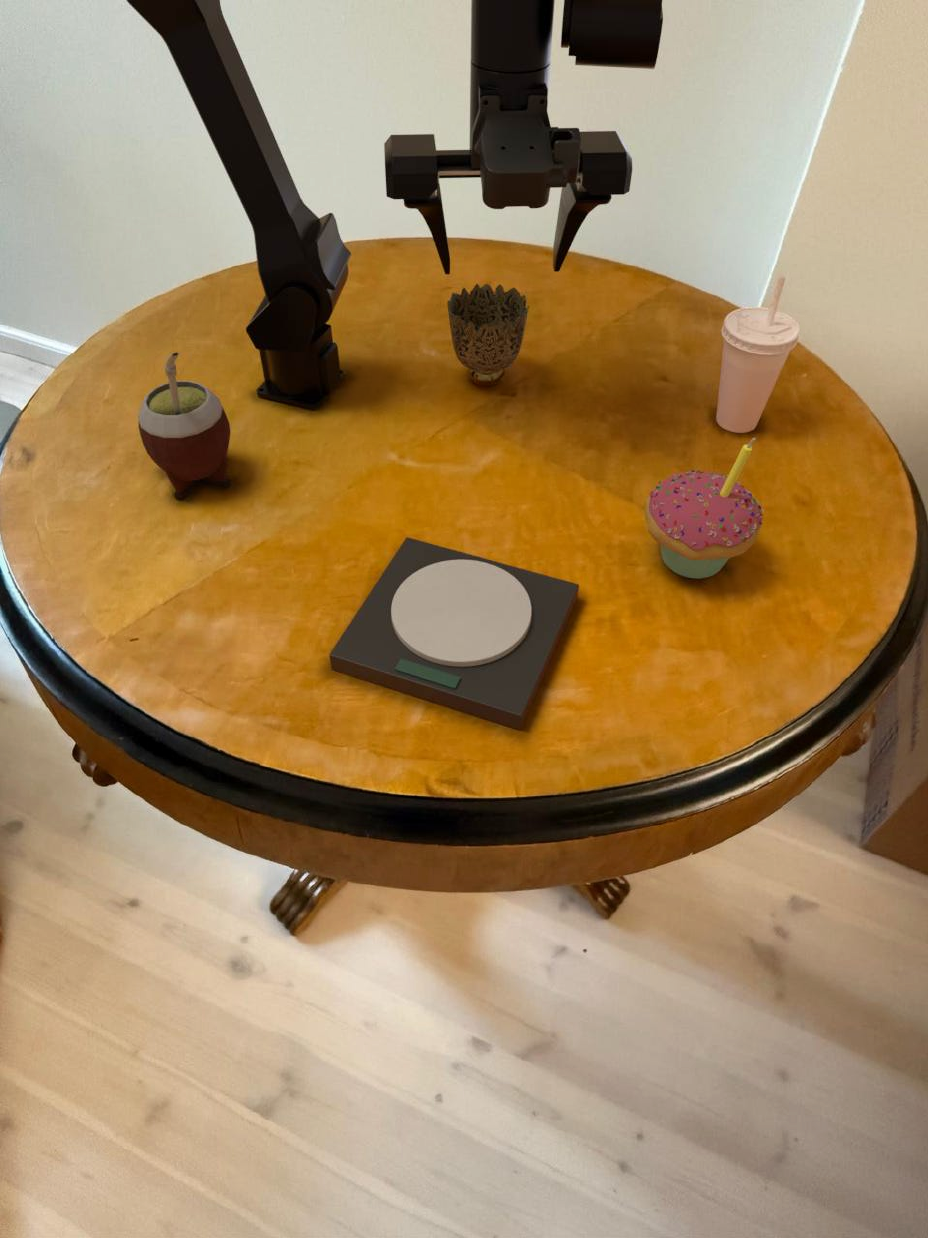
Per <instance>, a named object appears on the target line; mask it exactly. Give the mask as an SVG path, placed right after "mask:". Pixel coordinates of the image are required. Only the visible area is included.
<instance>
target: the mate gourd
mask: <svg viewBox="0 0 928 1238" xmlns="http://www.w3.org/2000/svg"><path fill="white" fill-rule="evenodd" d="M179 355H180V353H179V352H178V351H175V352H173V353H171V354H170V355H168V356H167V358H166V362H165V363H164V369H165V376H166V377H167V378H168V379H167V380H168V382H166V383H163V384H161V385H158V386H157V387H154V388H153V389H152V390H151V391H149V392H148V393H147V394H146V395H145V396H144V398H143V400H142V403H141V406H140V408H139V410H138V414H137V419H138V430H139V431H138V432H139V435H140V439H141V442H142V444H143V447H144V449H145V451H146V454H148V456H149V458H150V459H151V461H153V462H154V464H155V465H156V466H157V467H158V468H159V469H161V470H162V471H163V472H165V474H166V477H167V478H168V480H169V481H170V483H171V485H172V486H173V487H174V488H173V489H175V492H174V493H173V497H174V498H175V500H177V501H184V500H185V498H187V497H188V495H189V494H191V492H192V491H194V490H195V488H196V487H197V486H198V485H199V484H206V485H210V486H214V487H217V488H220V489H221V488H222V489H226V490H227V489H229V488H230V487H231V486H232V480H231V479H229V478H228V477H227V472H228V452H229V447H230V439H231V425H230V424H231V423H230V421H229V418H228V416H227V413H226V411H225V409H224V407H223V404H222V402H221V400H220V398H219V396H218V395H216V394H215V393H214V392H213V391H211V390H210V389H209V388H207V387H206V386H204V385H203V384H202V383H199V382H195V381H190V380H177V378H176V376H177V373H178V372H177V364H176V363H175V362H176V360H177V358H178V356H179Z"/></svg>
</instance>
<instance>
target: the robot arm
mask: <svg viewBox="0 0 928 1238" xmlns="http://www.w3.org/2000/svg"><path fill="white" fill-rule="evenodd" d="M555 1H556V0H471V5H470V6H471V7H470V8H471V9H470V11H471V12H470V14H471V15H470V20H471V21H470V73H469V74H470V75H469V77H470V81H469V82H470V84H469V149H437V146H436V138H435V133H426V134H425V133H424V134H423V133H421V134H420V133H419V134H418V133H417V134H414V133H413V134H390V135H389V137H388V138H387V139H386V141H385V142H384V143H383V147H384V149H383V150H384V151H383V152H384V172H385V173H384V175H385V176H384V177H385V192H386V194H385V195H386V197H387V198H388V199H389V198H390V199H391V200H403V205H404V207H405V208H407V209H411V210H412V209H413V210H414V209H415V210H417V211H418V212H419V213H420V214H421V216H422V217H423V220H424V221H425V223H426V225H427V227H428V229H429V232H430V234H431V236H432V239H433V242H434V245H435V249H436V252H437V254H438V257H439V259H440V263H441V266H442V269H443V272H444V274H445V275H450V274H451V256H450V255H451V254H450V249H449V240H448V234H447V233H448V232H447V226H446V219H445V213H444V205H443V199H442V192H441V185H440V179H463V178H464V179H469V178H470V179H471V178H472V179H473V178H475V179H477V178H480V183H481V197H482V202H483V204H485V206H486V207H488V208H489V209H492V210H504V209H505V208H510V207H512V208H513V207H514V208H515V207H517V208H518V207H528V208H530V209H540V208H544V207H545V206H546V205H547V204H548V203H549V198H550V193H551V189H552V188H553V189H554V188H555V189H556V188H558V189H559V188H561V191H560V198H559V207H558V212H557V219H556V225H555V232H554V239H553V246H552V268H553V271H554V272H556V273H558V272H560V270H561V268H562V266H563V264H564V262H565V259H566V258H567V255H568V253H569V251H570V249H571V247H572V244H573V242H574V240H575V238H576V236H577V234H578V232H579V230H580V228H581V226H582V225H583V223H584V221H585V220H586V218H587V216H588V215H589V214H590V213H591V212H593V210H595V209H596V208H597V207H598V206H601V205H608V204H610V202H611V200H612V198H613V196H615V195H616V196H621V195H626V194H627V193H630V191H631V190H630V189H631V185H632V184H631V183H632V175H633V158H632V156H631V154H630V152H629V150H628V148H627V145H626V144H625V142H624V140H623V139H622V137H621V136H620V135H619V133H618V132H617V131H616V130H597V131H595V130H594V131H592V130H591V131H590V130H589V131H587V130H586V131H580V128H579V127H558V126H552V125H551V122H550V117H549V113H548V106H549V103H548V102H549V87H550V73H551V71H550V70H551V60H552V59H551V56H552V43H553V29H554V15H555ZM126 2H127V3H128V4H129V5H130V6H131V7H132V8H133V10H135V12H136V13H137V14H138V15H140V16H141V17H142V19H143V20H144V21H145V22H146V23H147V24H148V25H149V26H150V27H151V28H153V30H154V31H155V32H156V33H157V34H158V35H159V36H160V37H161V38H162V40H163V42H164V43H165V45H166V47H167V49H168V51H169V53H170V55H171V57H172V59H173V62H174V63H175V66H176V69H177V70H178V73H179V74H180V76H181V78H182V80H183V83H184V85H185V88H186V89H187V92H188V94H189V95H190V98H191V100H192V102H193V105H194V106H195V108H196V111H197V112H198V115H199V116H200V119H201V121H202V123H203V125H204V127H205V129H206V132H207V134H208V136H209V138H210V139H211V140H210V141H211V142H212V144H213V146H214V148H215V150H216V153H217V155H218V157H219V159H220V161H221V163H222V165H223V167H224V170H225V172H226V174H227V176H228V178H229V180H230V182H231V184H232V188H233V189H234V191H235V194H236V195H237V197H238V199H239V201H240V204H241V205H242V208H243V210H244V212H245V215H246V217H247V219H248V220H249V223H250V225H251V227H252V231H253V236H254V245H255V254H256V262H257V263H256V264H257V272H258V276H259V279H260V282H261V285H262V289H263V293H264V296H263V297H262V300H261V301H260V303H259V305H258V306H257V308H256V310H255V312H254V313H253V315H252V317H251V319H250V320H249V322H248V324H247V326H246V327H245V331H246V334H247V336H248V337H249V339H250V341H251V343H252V345H253V346H254V348H255V349H256V350H257V351H258V352H259V358H260V362H261V363H260V364H261V368H262V369H261V370H262V373H263V379H264V381H263V382H262V383H261V384H260V385H259V386H258V387H257V388H256V395H257V396H258V397H260V398H265V399H268V400H273V401H276V402H281V403H285V404H289V405H293V406H298V407H301V408H305V409H309V410H315V409H318V408H319V407H320V406H321V405H322V404H323V403H324V402H325V400H326V399H327V398H328V397H329V396H330V395H331V394H332V393H333V392H334V390H335V389H337V387H338V386H339V384H341V382H342V381H343V380H344V379H345V378H346V371H345V370H344V369H341V366H340V357H339V356H340V355H339V347H338V344H337V342H334V338H333V328H332V325H331V324H329V323H328V322H329V321H330V319H331V317H332V314H333V312H334V310H335V307H336V305H337V303H338V301H339V300H340V299H339V298H340V297H341V294H342V292H343V290H344V287H345V285H346V283H347V281H348V279H349V265H348V263H349V261H350V258H351V256H352V252H351V251H350V250H349V248H348V247H347V246H346V245H345V243H344V242H343V240H342V237H341V234H340V232H339V227H338V223H337V219H336V217H335V215H334V213H333V212H329V213H326V214H325V215H323V216H321V217H319V216H317V215H316V214H315V213H314V212H313V211H312V209H310V208H309V206H307V205H306V203H305V202H304V200H303V199H302V197H301V195H300V193H299V191H298V188H297V186H296V183H295V181H294V178H293V176H292V174H291V173H290V170H289V168H288V165H287V163H286V160H285V157H284V156H283V154H282V151H281V149H280V146H279V143H278V142H277V139H276V136H275V134H274V132H273V130H272V128H271V125H270V123H269V120H268V118H267V116H266V114H265V111H264V109H263V106H262V104H261V101H260V99H259V97H258V94H257V91H256V89H255V86H254V85H253V83H252V80H251V77H250V76H249V73H248V71H247V68H246V66H245V64H244V62H243V59H242V57H241V53H240V52H239V50H238V48H237V45H236V43H235V40H234V38H233V35H232V33H231V31H230V28H229V26H228V24H227V21H226V19H225V17H224V14H223V10H222V6H221V0H126ZM562 11H563V12H562V22H561V23H562V24H561V35H560V36H561V37H560V48H562V49H563V48H564V49H568V54H567V55H568V57H575V61H574V62H575V63H574V65H575V66H584V67H585V66H586V67H603V68H604V67H605V68H626V69H627V68H628V69H645V70H647V69H648V70H655V68H656V65H657V60H658V57H659V56H658V55H659V49H660V45H661V37H662V31H663V24H664V13H663V12H664V11H663V0H563V10H562Z"/></svg>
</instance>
